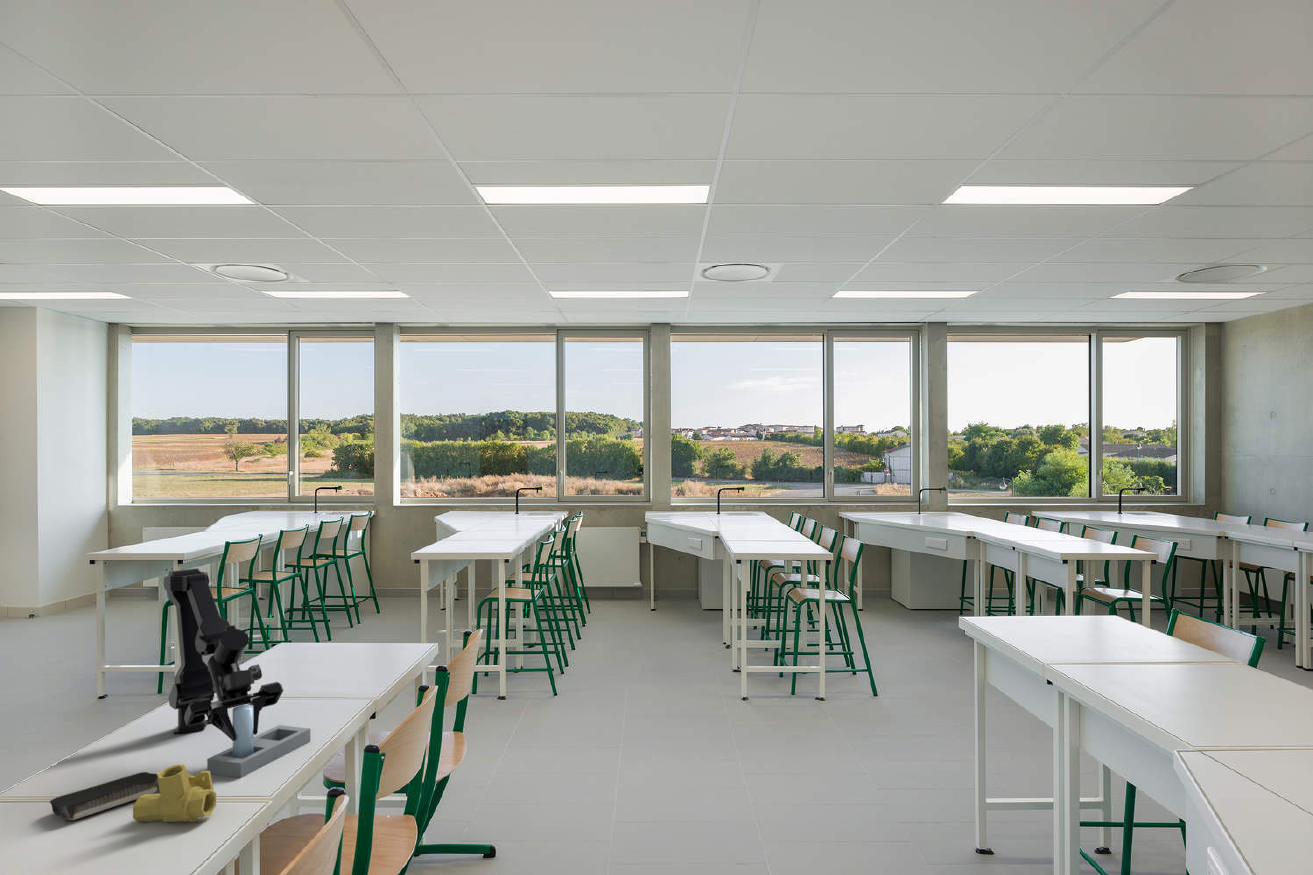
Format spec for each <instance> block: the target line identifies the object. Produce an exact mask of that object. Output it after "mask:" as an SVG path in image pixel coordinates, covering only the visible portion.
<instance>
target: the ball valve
mask: <svg viewBox="0 0 1313 875" xmlns="http://www.w3.org/2000/svg"><path fill="white" fill-rule="evenodd" d="M156 774H157V777H158V783H159V789H158V790H159V792H160V793H153V794H145V795H142V796H140V797H138V799H136V800H135V803H134V804H133V807H132V818H133V819H134V820H135V821H136V822H137V823H144V822H152V821H163V822H166V823H175V822H176V823H177V822H178V823H179V822H186V823H193V822H196V821H197V819H199V818H204V817H205V818H206V817H209V816H211V815H212V813H213V812H214V810H215V808H216V806H217V793H216V792H215V790H214V784H213V780H212V774H211V773H210V771H207V770H202V771H201V772H198V773H197V774H195V775H192V774H190V773H189V772H188V770H187V767H186V765H185V764H176V765H173V764H172V765H171V766H169V767H167V768H164V769H163V770H161V771H160V772H158V773H156Z"/></svg>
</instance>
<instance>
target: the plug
mask: <svg viewBox="0 0 1313 875" xmlns="http://www.w3.org/2000/svg"><path fill="white" fill-rule="evenodd" d="M232 726H233V728H234V731H235V735H236V740H235V741H232V747H233V758H241V759H244V758H246V757H248V756H250V755H252V754H254V737H255V735H254V727H253V706H252V705H247V704H245V705H241V706H237V707H233V708H232Z"/></svg>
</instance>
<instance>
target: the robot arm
mask: <svg viewBox="0 0 1313 875" xmlns="http://www.w3.org/2000/svg"><path fill="white" fill-rule="evenodd" d="M163 588H164V590H165V591H166V596H167V599H168V600H169V601H170V602H171V603H172V604H173V605H174V607H175V610H176V612H175V613H176V620H177V621H176V622H177V633H178V644H179V657H180V658H179V659H180V666H179V668H178V670H177V672H176V674H175V675H174V678H173V679H174V680H173V681H174V684H173V685H172V688H171V690H170V692H169V695H168V704H169V707H171V708H173V709H174V710H177V726H176V727H175V729H174V731H173V734H174V735H176V734H183V733H184V734H186V733H192V732H199V731H204V730H205V729H206V727H207V726H208V725H209V726H210V725H212V726H214V727H215V728H217V729H218V730H220V731H221V732H222V733H223V734H224V735H225V736H227V738H229V739H230V740H231V741H232V742H233V741H235V740H236V735H235V731H234V728H233V722H232V721H231V718H230V716H229V711H228V709H233V708H235V707H238V706H242V705H252V706H253V727H254V736H257V734H258V730H259V721H260V720H259V717H260V711H262V710H263V708H267V707H269V706H273V705H274V706H275V705H276V704H277V703H278V702H279V700H280V698H281V697H282V695H283V692H284V689H283V686H282V683H280V682H278V681H275V682H270V683H267V684H261V686H260V688H259V690H258V691H257V692H254V693H248V692H250V691H251V690H252V686H251V685H253V684H255V681H258V680H260V679H262V677H263V673H262V669H261V666H260V664H253V665H250V667H248V669H245V670H243V669H241V667H240V665H239V662H240V660H241V659H242V657H243V655H244V653H245V651H246V648H247V646H248V644H249V641H250V637H249V634H248V633H246V632H245V631H244V630H242V629H239V628H237V627H236V625H235V624H234V625H231V624H230V622H229V621H228V620H227V619H225V618H223V617H221V615H220V613H219V610H218V608H217V605H216V602H215V599H214V596H213V594H212V590H211V588H210V578H209V575H208V571H206V572H205V571H201V570H200V568H188V569H180V570H172V571H169V573H168V575H166V576H164V577H163ZM203 656H210V658H208V661H207V663H206V662H204V660H203ZM215 694H216V698H217V700H215V701H214V698H215ZM206 717H207V719H206Z"/></svg>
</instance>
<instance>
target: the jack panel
mask: <svg viewBox="0 0 1313 875" xmlns="http://www.w3.org/2000/svg"><path fill="white" fill-rule="evenodd" d="M310 742H311V728H310V727H309V728H308V727H298V726H290V725H281V724H279V725H277V726H275V727H272V728H270V729H268V730H266V731H264V732H261V733H260V734H258V735H257V734H256V735H254V754H252V755H250V756H248V757H246V758H244V759H241V758H233V746H231V747H230V748H228V749H226V750H223V751H221V752H219V753H217V754H215V755H213V756H211V757H209V758H207V759H206V767H207V768H206V771H210V773H211V775H212V774H213V775H219V776H226V777H232V778H239V779H241V778H243V777H245V776H247V775H249V774H251V773H253V772H255V771H257V770H258V769H260V768H262V767H264V766H267V765H268V764H270V763H272V762H274V761H276V760H278V759H280V758H282V757H284V756H285V755H288V754H289V753H291V752H293V751H295V750H297V749H299V748H301V747H303V746H304V745H306V744H308V743H310Z"/></svg>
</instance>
